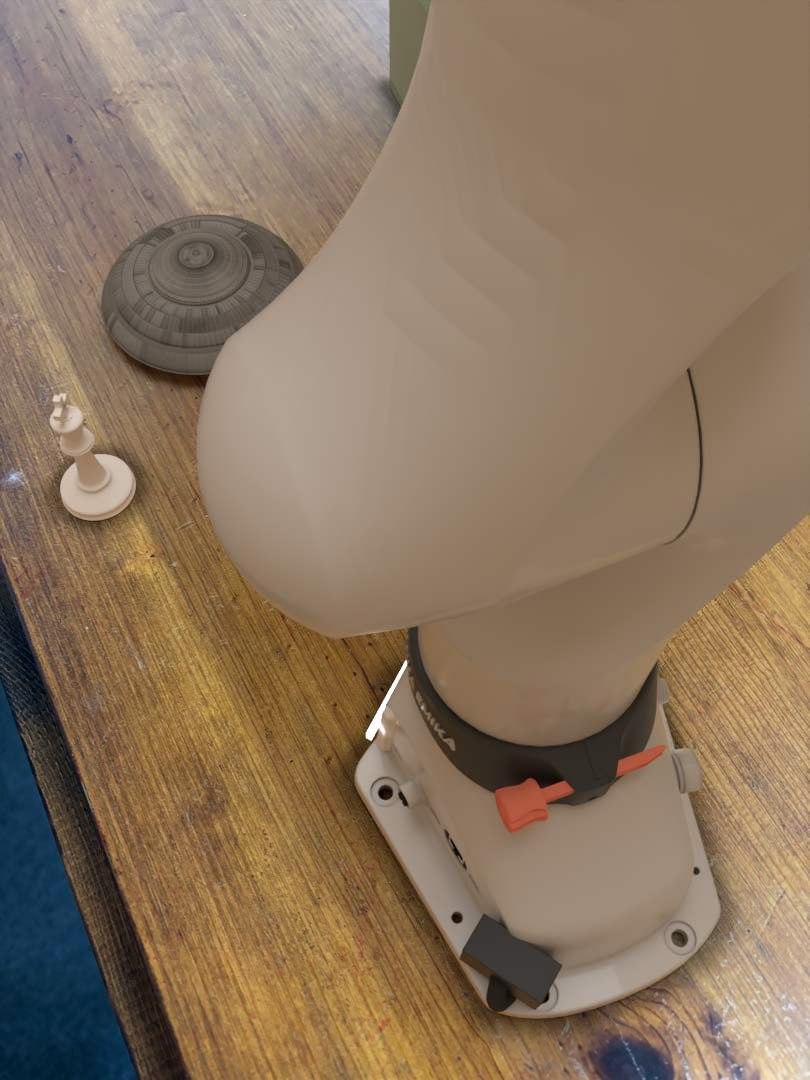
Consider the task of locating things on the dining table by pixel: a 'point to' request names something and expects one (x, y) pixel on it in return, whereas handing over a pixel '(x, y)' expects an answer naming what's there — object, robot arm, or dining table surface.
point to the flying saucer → (193, 289)
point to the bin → (405, 42)
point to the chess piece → (89, 469)
